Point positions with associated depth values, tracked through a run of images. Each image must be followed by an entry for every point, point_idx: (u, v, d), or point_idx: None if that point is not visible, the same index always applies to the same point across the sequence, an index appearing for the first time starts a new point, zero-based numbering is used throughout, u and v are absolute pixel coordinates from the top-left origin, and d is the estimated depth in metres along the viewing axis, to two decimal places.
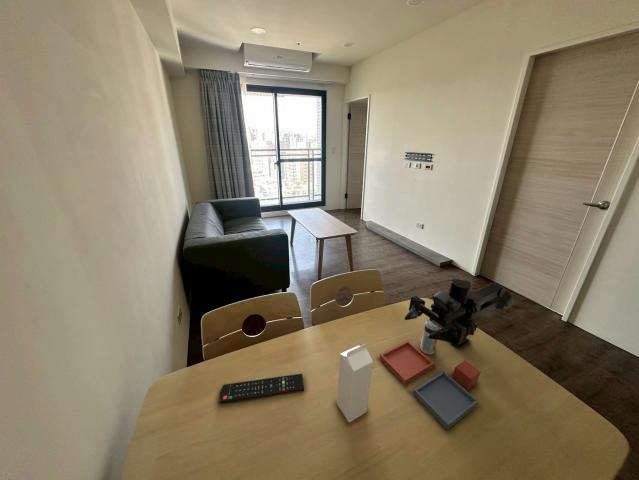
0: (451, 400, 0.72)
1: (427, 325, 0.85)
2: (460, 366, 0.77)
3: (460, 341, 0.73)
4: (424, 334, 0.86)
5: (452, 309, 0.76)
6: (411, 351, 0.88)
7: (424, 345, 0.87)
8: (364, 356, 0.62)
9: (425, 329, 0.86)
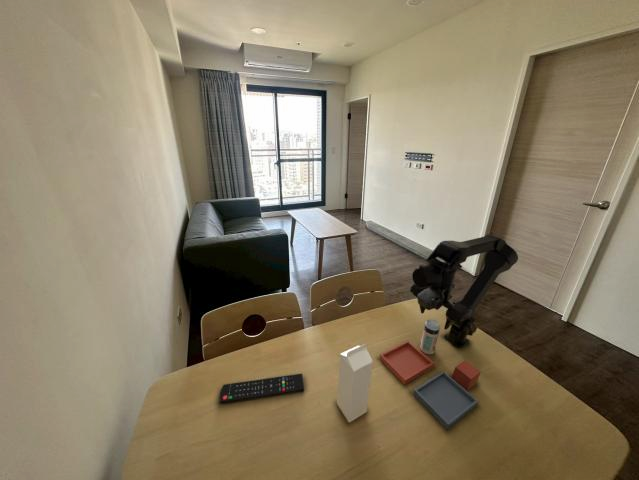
0: (451, 400, 0.72)
1: (427, 325, 0.85)
2: (460, 366, 0.77)
3: (468, 316, 0.75)
4: (424, 334, 0.86)
5: None
6: (411, 351, 0.88)
7: (424, 345, 0.87)
8: (364, 356, 0.62)
9: (425, 329, 0.86)
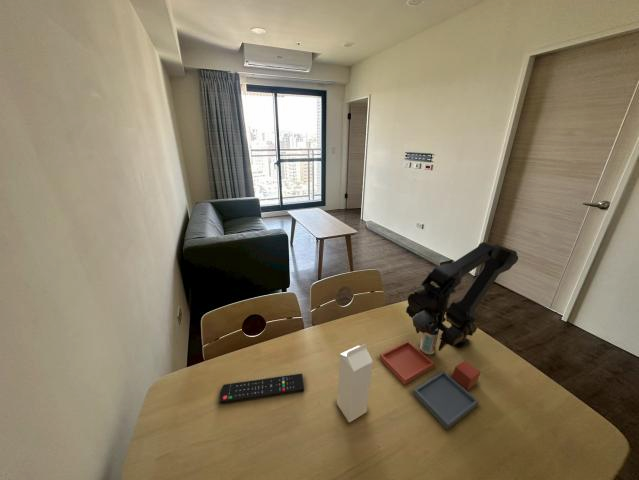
0: (451, 400, 0.72)
1: None
2: (460, 366, 0.77)
3: (461, 339, 0.78)
4: (424, 334, 0.86)
5: None
6: (411, 351, 0.88)
7: (424, 345, 0.87)
8: (364, 356, 0.62)
9: None
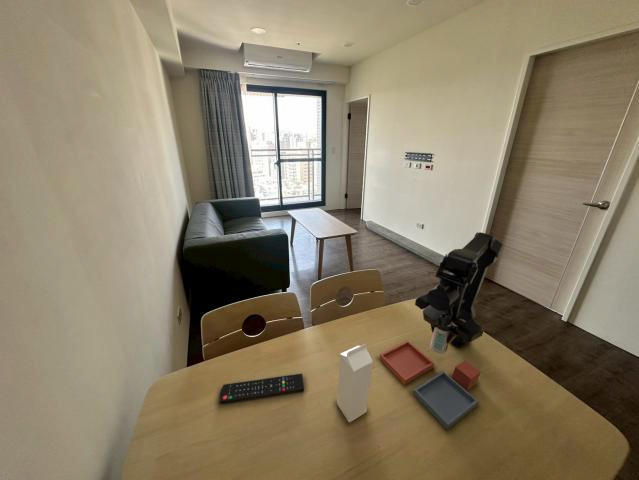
0: (451, 400, 0.72)
1: None
2: (460, 366, 0.77)
3: (480, 335, 0.67)
4: (435, 331, 0.76)
5: None
6: (411, 351, 0.88)
7: (435, 343, 0.77)
8: (364, 356, 0.62)
9: None
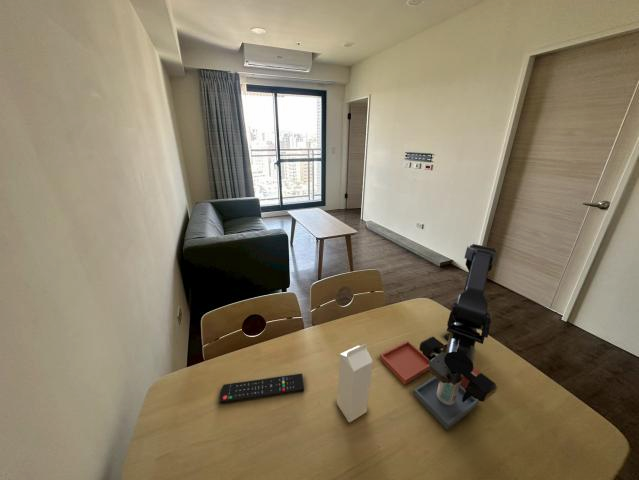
0: None
1: None
2: None
3: (493, 392, 0.61)
4: None
5: None
6: (411, 351, 0.88)
7: (442, 394, 0.70)
8: (364, 356, 0.62)
9: None
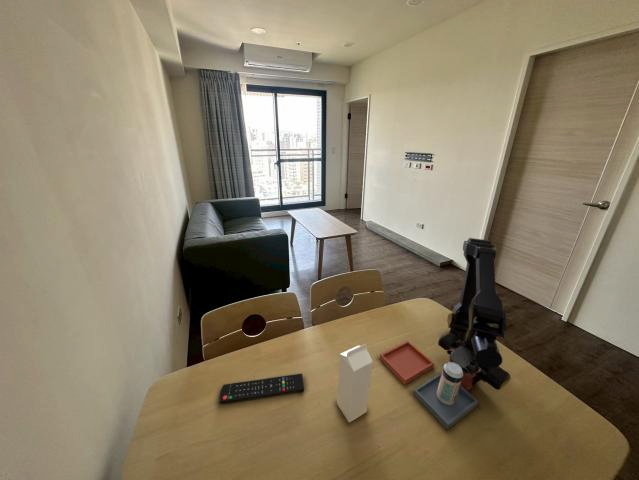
0: None
1: (447, 370, 0.68)
2: None
3: (507, 381, 0.68)
4: (442, 380, 0.69)
5: None
6: (411, 351, 0.88)
7: (442, 394, 0.70)
8: (364, 356, 0.62)
9: (444, 374, 0.69)
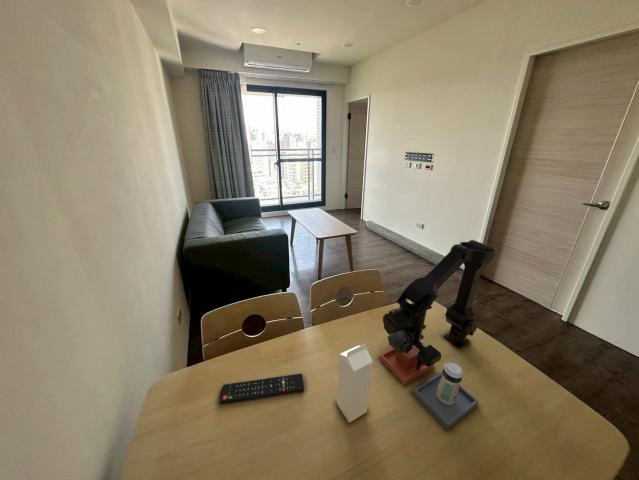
0: None
1: (447, 370, 0.68)
2: None
3: (438, 359, 0.74)
4: (443, 380, 0.69)
5: None
6: None
7: (442, 394, 0.70)
8: (364, 356, 0.62)
9: (444, 374, 0.69)
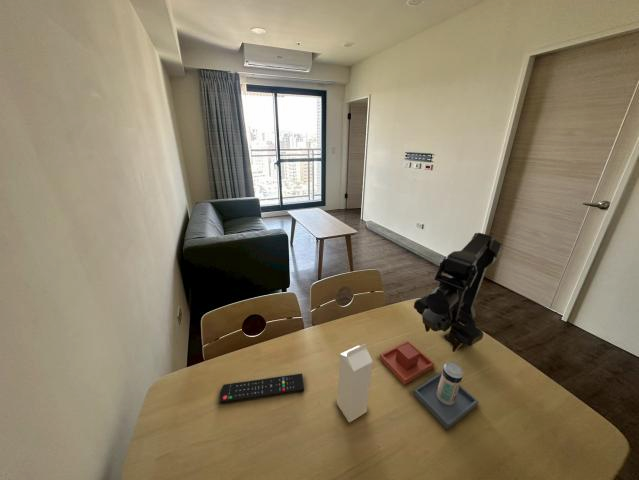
0: None
1: (447, 370, 0.68)
2: (402, 348, 0.83)
3: (480, 338, 0.66)
4: (443, 380, 0.69)
5: None
6: None
7: (442, 394, 0.70)
8: (364, 356, 0.62)
9: (444, 374, 0.69)
